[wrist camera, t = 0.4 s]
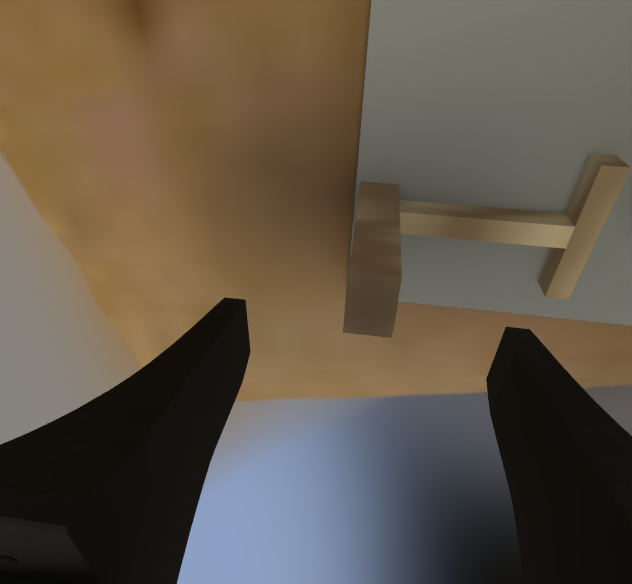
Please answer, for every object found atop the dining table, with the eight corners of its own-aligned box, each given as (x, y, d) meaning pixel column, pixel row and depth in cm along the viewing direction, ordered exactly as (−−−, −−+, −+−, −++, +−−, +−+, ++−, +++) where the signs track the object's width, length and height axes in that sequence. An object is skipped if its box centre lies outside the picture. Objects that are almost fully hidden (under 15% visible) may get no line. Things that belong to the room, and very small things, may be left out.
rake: (617, 155, 17) (731, 250, 11) (560, 283, 20) (624, 403, 15) (364, 138, 18) (352, 218, 12) (353, 263, 21) (340, 369, 16)
